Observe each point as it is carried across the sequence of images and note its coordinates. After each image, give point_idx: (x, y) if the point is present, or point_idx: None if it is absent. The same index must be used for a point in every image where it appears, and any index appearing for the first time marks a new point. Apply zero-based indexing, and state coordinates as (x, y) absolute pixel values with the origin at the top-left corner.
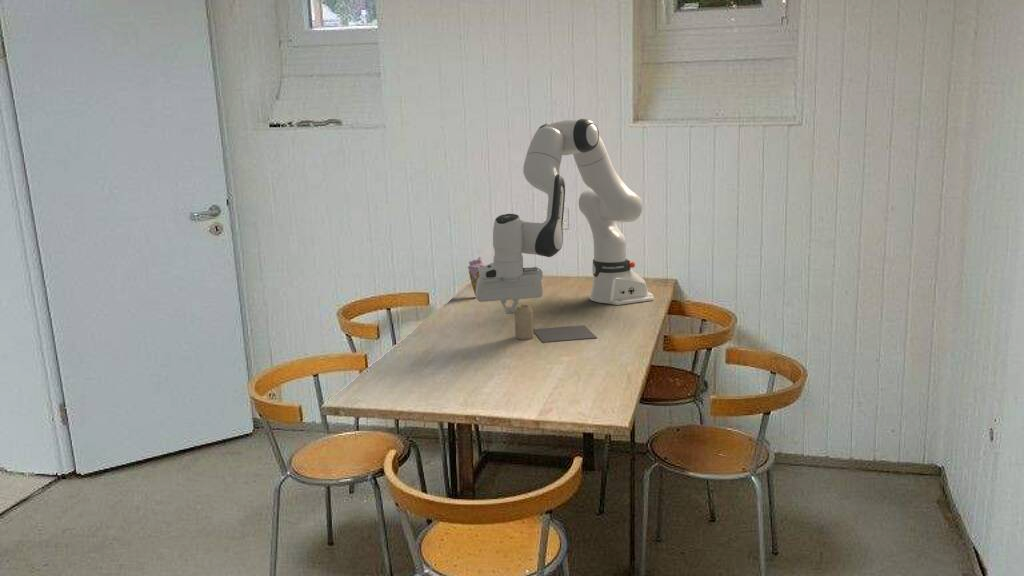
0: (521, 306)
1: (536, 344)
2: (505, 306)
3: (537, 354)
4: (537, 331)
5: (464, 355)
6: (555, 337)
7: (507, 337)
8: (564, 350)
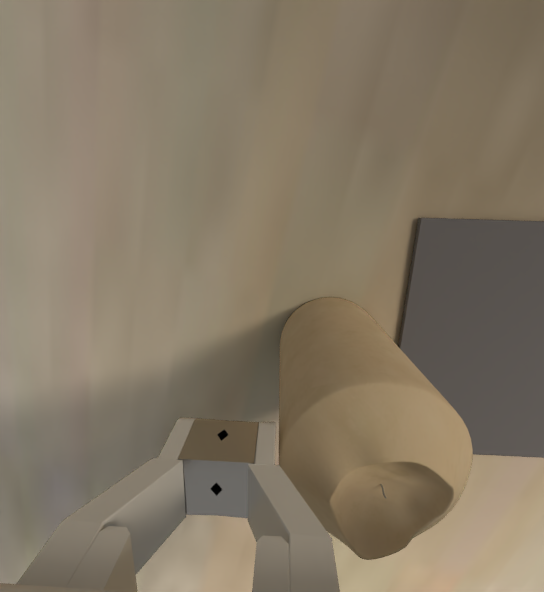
0: (374, 457)
1: None
2: (149, 545)
3: None
4: (431, 278)
5: (23, 499)
6: (473, 409)
7: (240, 316)
8: (428, 553)
